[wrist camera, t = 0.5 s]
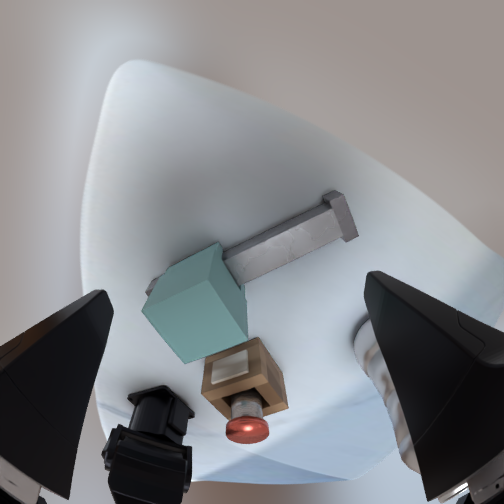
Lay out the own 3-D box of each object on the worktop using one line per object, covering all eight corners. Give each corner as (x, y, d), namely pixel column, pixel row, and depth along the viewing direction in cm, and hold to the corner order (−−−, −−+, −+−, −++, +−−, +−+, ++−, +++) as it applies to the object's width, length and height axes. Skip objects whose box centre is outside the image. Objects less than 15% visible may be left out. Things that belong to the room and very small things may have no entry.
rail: (173, 311, 25) (169, 324, 23) (151, 281, 24) (145, 292, 22) (350, 228, 23) (359, 236, 21) (335, 190, 22) (343, 194, 20)
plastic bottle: (352, 362, 29) (414, 518, 10) (343, 318, 26) (430, 504, 8) (402, 341, 28) (484, 478, 9) (400, 295, 26) (515, 446, 7)
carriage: (196, 310, 25) (184, 364, 18) (166, 265, 23) (141, 310, 17) (246, 288, 24) (248, 340, 18) (217, 239, 22) (207, 279, 16)
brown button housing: (234, 390, 29) (233, 424, 25) (204, 355, 27) (199, 391, 22) (282, 373, 28) (288, 408, 24) (257, 335, 26) (260, 371, 22)
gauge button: (238, 403, 26) (238, 446, 21) (220, 383, 25) (217, 429, 19) (270, 392, 25) (275, 437, 20) (254, 371, 24) (257, 419, 19)
